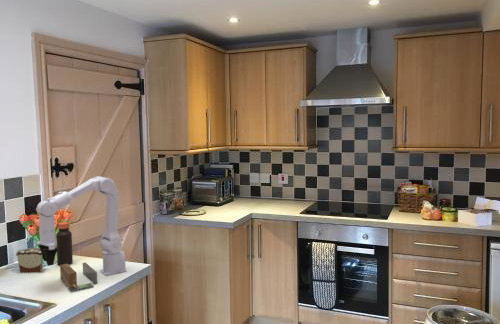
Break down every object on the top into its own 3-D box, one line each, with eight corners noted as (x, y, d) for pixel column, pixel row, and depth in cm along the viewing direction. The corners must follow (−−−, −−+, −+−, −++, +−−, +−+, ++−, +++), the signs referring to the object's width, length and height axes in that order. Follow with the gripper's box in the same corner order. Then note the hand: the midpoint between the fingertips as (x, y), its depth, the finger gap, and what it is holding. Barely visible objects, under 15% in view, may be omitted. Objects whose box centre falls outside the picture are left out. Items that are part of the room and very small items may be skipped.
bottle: (54, 264, 204) (52, 223, 202) (66, 260, 210) (65, 221, 208) (63, 267, 201) (61, 225, 199) (75, 263, 206) (74, 222, 205)
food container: (50, 268, 199) (49, 247, 198) (44, 272, 193) (43, 251, 192) (23, 268, 199) (22, 247, 198) (16, 273, 193) (15, 251, 192)
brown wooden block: (67, 277, 187) (67, 263, 187) (79, 289, 173) (79, 274, 173) (60, 278, 185) (59, 265, 185) (71, 291, 172) (71, 276, 171)
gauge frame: (85, 273, 193) (85, 262, 192) (99, 286, 178) (99, 274, 177) (58, 278, 186) (58, 267, 185) (71, 292, 171) (70, 280, 170)
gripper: (32, 228, 177) (34, 260, 179) (40, 235, 166) (41, 269, 167) (50, 225, 182) (52, 256, 183) (59, 232, 170) (61, 265, 171)
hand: (48, 262), depth 175 cm, fingers open, 6 cm apart
